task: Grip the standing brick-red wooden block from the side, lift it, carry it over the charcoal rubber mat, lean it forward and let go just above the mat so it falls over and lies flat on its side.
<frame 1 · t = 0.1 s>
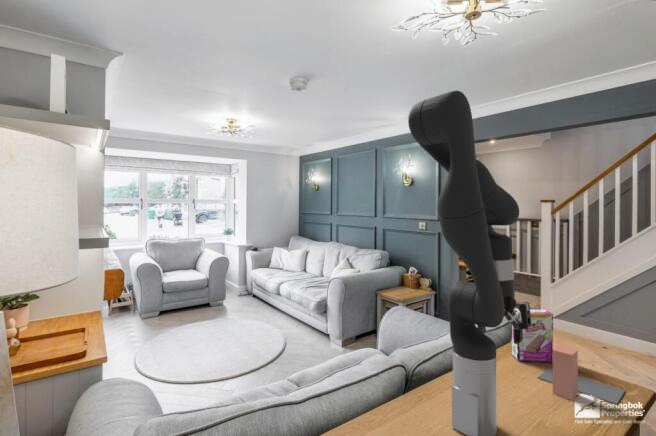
hand: (499, 338, 84), 17 cm above the table, tool pointing down, fingers open, 8 cm apart
candy bar box: (532, 359, 111), on the table
block: (565, 394, 89), on the table
mat: (579, 384, 94), on the table
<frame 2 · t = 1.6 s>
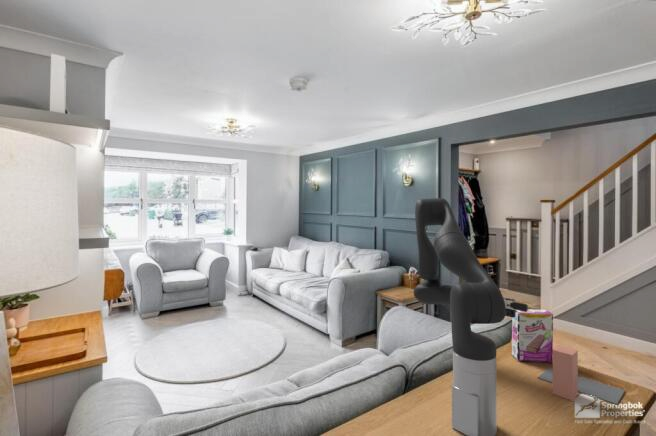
hand: (521, 311, 98), 20 cm above the table, tool horizontal, fingers open, 8 cm apart
nothing on the table moved.
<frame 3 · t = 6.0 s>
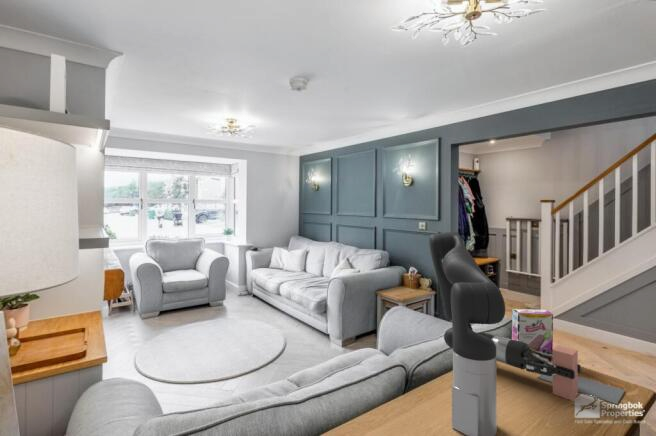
hand: (577, 371, 87), 7 cm above the table, tool horizontal, fingers closed on block, 4 cm apart
block: (565, 394, 89), on the table, touching gripper
everything else where it was.
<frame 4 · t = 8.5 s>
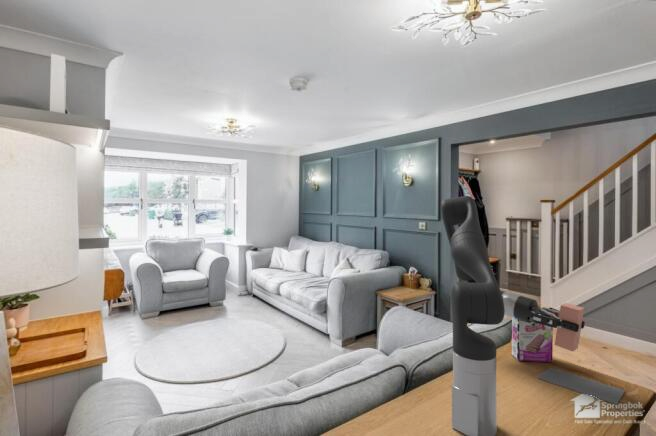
hand: (581, 326, 93), 17 cm above the table, tool horizontal, fingers closed on block, 4 cm apart
block: (566, 346, 96), point 10 cm above the table, tilted 7°, touching gripper
everything else where it was.
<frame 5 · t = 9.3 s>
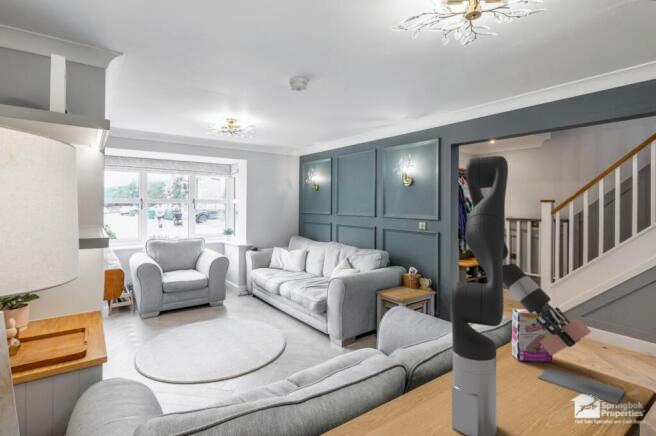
hand: (575, 343, 95), 12 cm above the table, tool tilted 45°, fingers closed on block, 4 cm apart
block: (547, 346, 100), point 9 cm above the table, tilted 45°, touching gripper
everything else where it was.
when the fingers open (7 cm above the table, at t = 10.9 s): block moves 2 cm and tips over, resting on mat.
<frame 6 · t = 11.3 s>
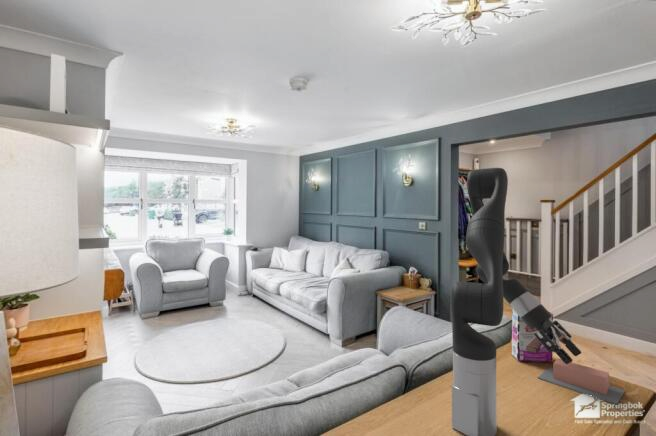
hand: (574, 358, 95), 7 cm above the table, tool tilted 45°, fingers open, 8 cm apart
block: (555, 368, 99), point 3 cm above the table, tilted 90°, touching mat
everything else where it was.
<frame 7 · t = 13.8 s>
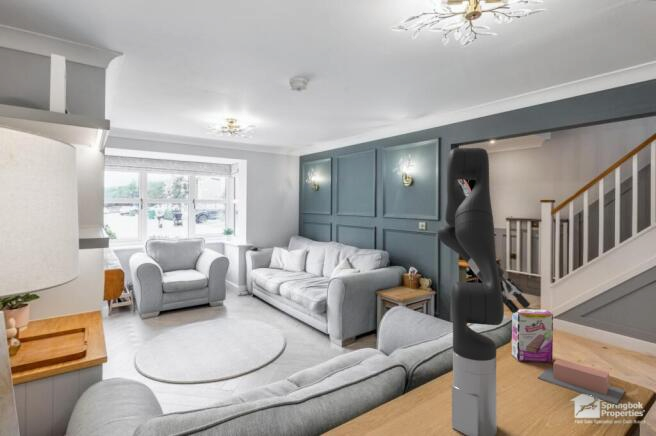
hand: (522, 309, 102), 20 cm above the table, tool tilted 45°, fingers open, 8 cm apart
nothing on the table moved.
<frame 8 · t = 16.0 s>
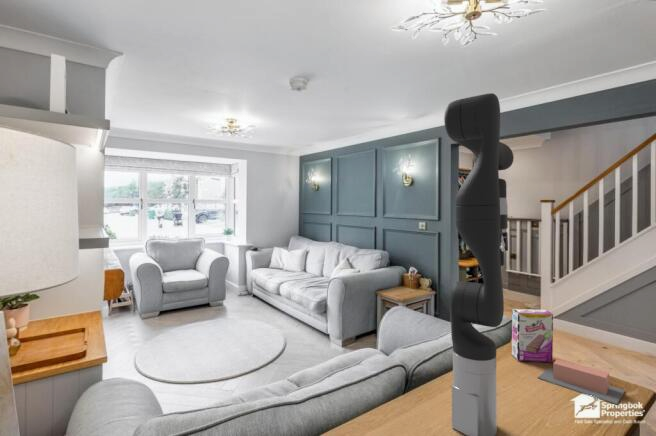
hand: (493, 266, 100), 33 cm above the table, tool pointing down, fingers open, 8 cm apart
nothing on the table moved.
at the end: block tilted 90°; block inside the target area (5.4 cm from its centre), point 2.5 cm above the table; the gripper is holding nothing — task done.
